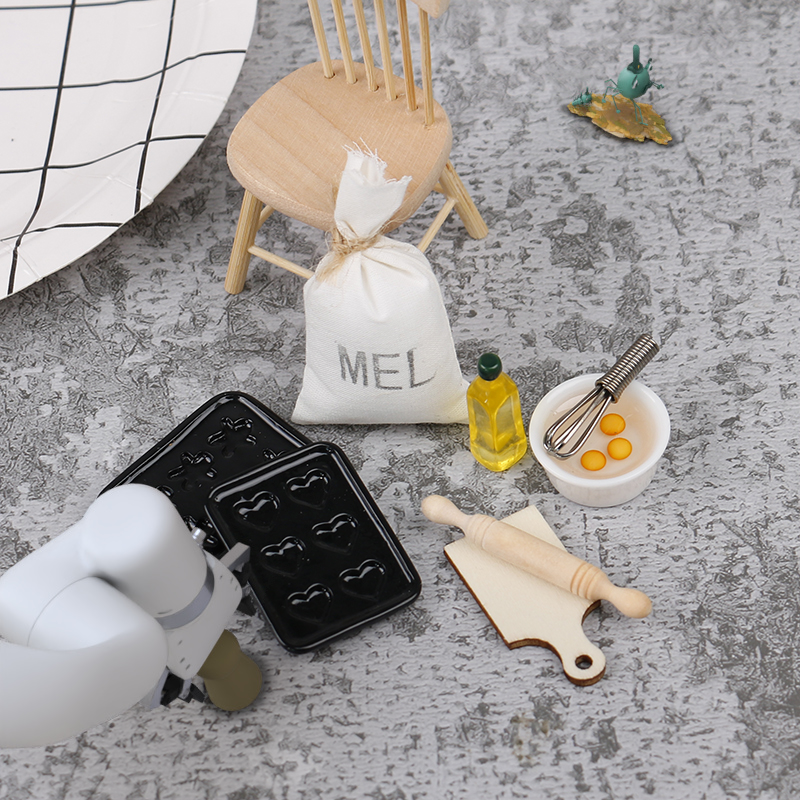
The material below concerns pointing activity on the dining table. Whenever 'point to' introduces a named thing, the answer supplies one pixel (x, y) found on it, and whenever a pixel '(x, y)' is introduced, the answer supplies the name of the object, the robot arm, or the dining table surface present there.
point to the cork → (230, 675)
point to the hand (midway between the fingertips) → (217, 650)
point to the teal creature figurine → (625, 105)
